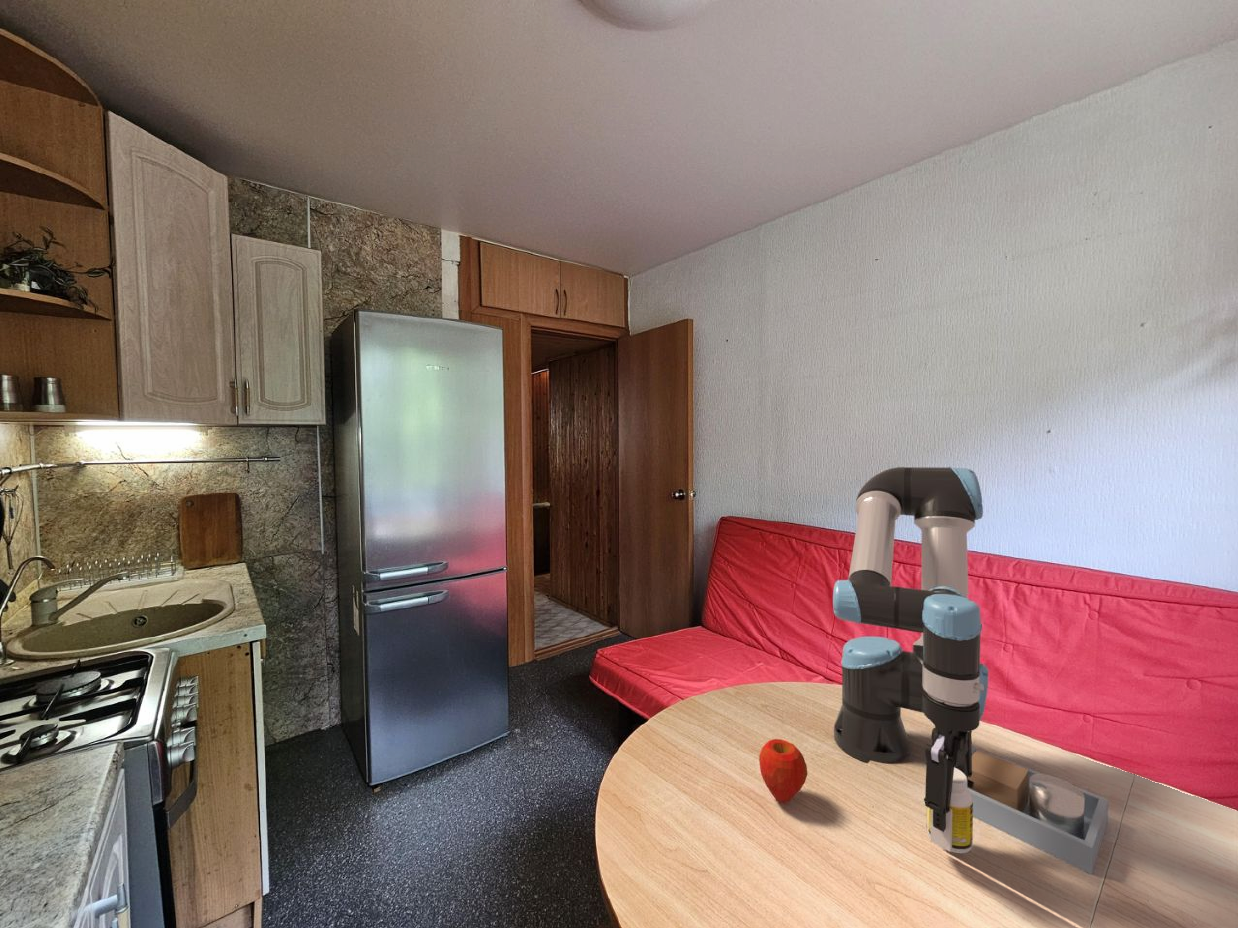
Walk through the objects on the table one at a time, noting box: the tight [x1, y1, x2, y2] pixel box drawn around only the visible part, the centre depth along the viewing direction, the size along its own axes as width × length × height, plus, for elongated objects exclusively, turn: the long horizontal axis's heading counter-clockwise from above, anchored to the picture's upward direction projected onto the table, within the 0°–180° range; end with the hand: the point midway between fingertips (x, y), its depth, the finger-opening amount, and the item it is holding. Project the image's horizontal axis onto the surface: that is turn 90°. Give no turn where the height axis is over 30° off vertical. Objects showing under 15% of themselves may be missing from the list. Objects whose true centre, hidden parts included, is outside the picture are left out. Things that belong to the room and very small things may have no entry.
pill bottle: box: [925, 767, 974, 854], centre depth 79 cm, size 6×6×11 cm
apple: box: [758, 738, 808, 804], centre depth 93 cm, size 9×8×11 cm
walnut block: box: [967, 750, 1029, 812], centre depth 91 cm, size 8×8×6 cm
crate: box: [967, 745, 1109, 875], centre depth 88 cm, size 20×16×5 cm
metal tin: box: [1029, 773, 1085, 840], centre depth 84 cm, size 7×7×7 cm
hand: (948, 833), depth 79 cm, fingers closed on pill bottle, 6 cm apart
